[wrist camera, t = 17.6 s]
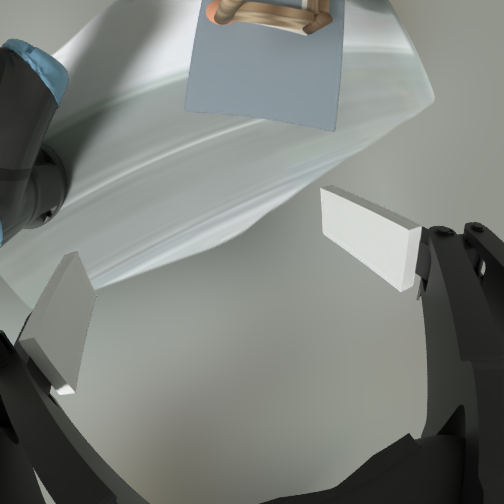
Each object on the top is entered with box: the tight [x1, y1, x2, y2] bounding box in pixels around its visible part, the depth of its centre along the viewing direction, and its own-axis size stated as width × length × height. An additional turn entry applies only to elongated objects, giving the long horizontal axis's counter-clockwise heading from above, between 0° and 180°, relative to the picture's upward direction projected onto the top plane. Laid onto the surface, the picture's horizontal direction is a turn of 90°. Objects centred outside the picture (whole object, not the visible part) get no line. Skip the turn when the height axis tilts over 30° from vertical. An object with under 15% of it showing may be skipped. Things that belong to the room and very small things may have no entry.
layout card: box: [185, 0, 344, 132], centre depth 39 cm, size 28×38×1 cm
